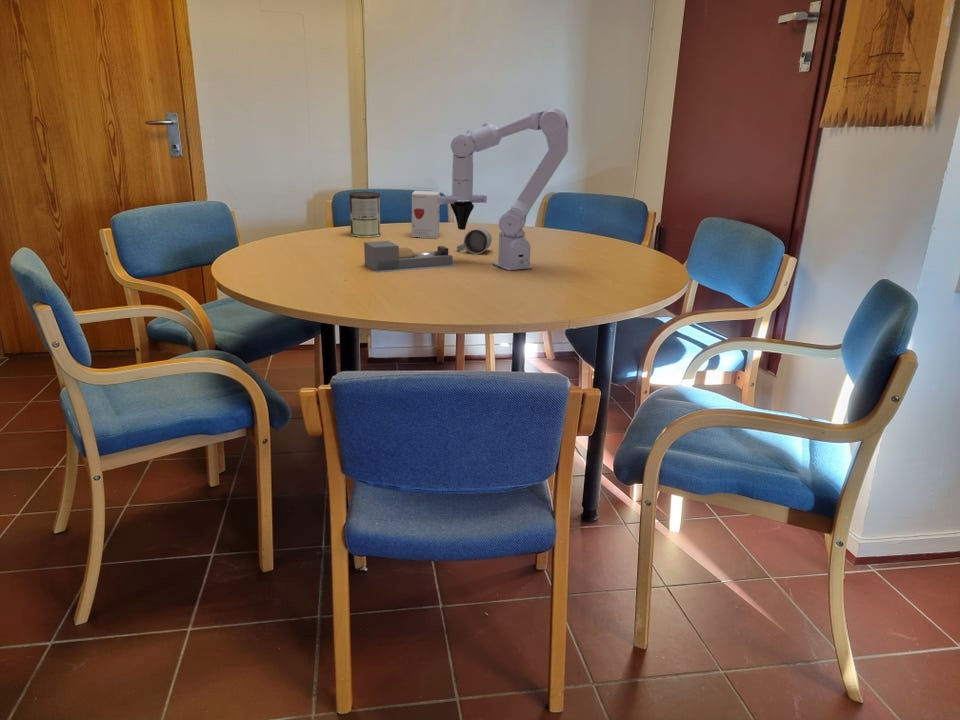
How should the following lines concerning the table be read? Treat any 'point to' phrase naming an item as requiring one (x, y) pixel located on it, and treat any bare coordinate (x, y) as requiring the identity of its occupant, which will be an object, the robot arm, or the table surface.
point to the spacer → (405, 253)
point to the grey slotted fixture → (387, 259)
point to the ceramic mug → (476, 241)
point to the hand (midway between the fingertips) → (461, 229)
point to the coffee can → (365, 214)
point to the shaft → (439, 252)
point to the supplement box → (425, 214)
